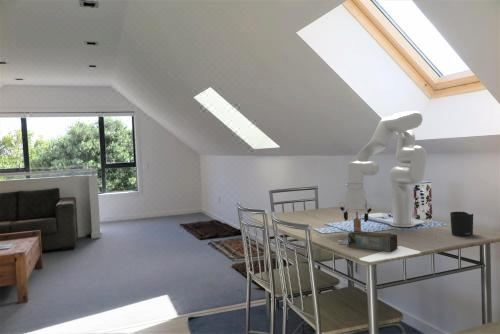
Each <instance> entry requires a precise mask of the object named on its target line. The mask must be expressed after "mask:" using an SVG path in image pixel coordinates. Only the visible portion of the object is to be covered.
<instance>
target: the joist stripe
mask: <svg viewBox="0 0 500 334" xmlns="http://www.w3.org/2000/svg"><path fill="white" fill-rule="evenodd" d="M337 242H340V243H338V245H340V246H341V245H342V246H349V245H348V236H347V237H345V238H344V239H343V240H341V239H340V240H338V241H337Z"/></svg>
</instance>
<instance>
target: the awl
mask: <svg viewBox="0 0 500 334" xmlns="http://www.w3.org/2000/svg"><path fill="white" fill-rule="evenodd" d="M358 215H359V212H358V211H355V217H354V219H353V232H354V231H362V223H361V219H360V217H359V216H358Z"/></svg>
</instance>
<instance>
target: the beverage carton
mask: <svg viewBox="0 0 500 334" xmlns="http://www.w3.org/2000/svg"><path fill="white" fill-rule="evenodd" d="M347 237H348V245H347V246H348V247H349V246H350V247H351V248H357V249H364V250H374V251H380V252H381V251H382V252H389V253H390V252H393V251H395V250H397V249H398V234H393V233H390V232H389V233H388V232H387V233H386V232H373V231H372V232H371V231H362V230H361V231H354V230H352V231H350V232H348V233H347Z"/></svg>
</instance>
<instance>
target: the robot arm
mask: <svg viewBox="0 0 500 334" xmlns="http://www.w3.org/2000/svg"><path fill="white" fill-rule="evenodd" d="M422 123H423V115H422V113H421V112H419V111H417V110H413V111H404V112H403V111H402V112H397V113H395V114H392V116H386V117H383V118H382V119H380V120H379V122H378V125H377V127H376V129H375V131H374V133H373V135H372V137H371V139H370V141H369V142H368V143H366V144H365V145H364V146H363V147H362V148H361V149H360V150H359V151H358V152H357V153H356V156H355V158H354V160H353V161H349V162H348V163H347V183H345V184H344V187H345V188H346V189H345V195H344V200H342V201H341V202H339V203H338V206H339V209H340V210H341V211H342V213H343V219H344V221H348V220H349V216H348V215H349V213H348V210H351V211H352V210H354V211H355V210H356V211H363V212H364V216H363V217H364V220H363V221H364V223H366V222H368V221H369V213H371V211H372V210H373V208H374V207H375V205H374V204H373V203H371V202H369V201H367V194H366V190H365V189H364V176H367V177H370V176H371V177H373V176H375V175H377V174H378V173H379V171H380V165H379V164H378V163H377V162H376V161H373V160H370V159H371V157H373V156H374V155H376V154H378V153H381V152H383V151H384V150H386V149H387V147H388V145H389V143H390V141H391V138H392V136H393V134H397V145H396V153H395V160H396V162H397V163H399V164H403V165H397V166H394V167H392V168H391V170H390V171H389V180H390V185H391V195H392V198H391V199H392V201H391V202H392V221H393V223H391V222H392V221H390V222H389V225H390V226H392V227H397V228H412V227H415V226H416V223H415V222H414V221H413V210H412V203H413V202H412V189H411V187H410V185H411V186H416V185H420V184H421V183H422V182H423V180H424V176H425V172H426V171H425V170H426V166H427V165H426V164H427V157H428V155H427V151H426V149H425V148H424V147H422V146H420V145H415V143H416V135H415V133H414V131H413V130H414V129H416V128H418V127H420V126H421V125H422ZM343 205H344V206H343ZM367 207H369V208H368V209H367ZM412 222H413V223H412Z"/></svg>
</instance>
